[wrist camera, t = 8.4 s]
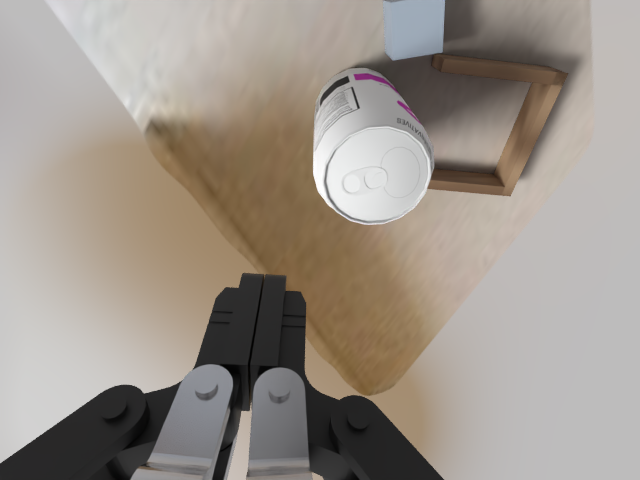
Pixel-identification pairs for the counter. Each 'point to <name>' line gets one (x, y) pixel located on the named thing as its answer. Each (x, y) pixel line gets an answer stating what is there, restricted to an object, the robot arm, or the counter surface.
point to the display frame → (525, 127)
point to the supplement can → (369, 149)
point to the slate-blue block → (413, 27)
